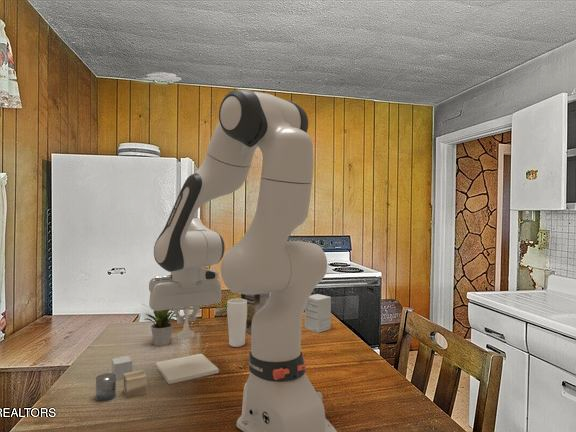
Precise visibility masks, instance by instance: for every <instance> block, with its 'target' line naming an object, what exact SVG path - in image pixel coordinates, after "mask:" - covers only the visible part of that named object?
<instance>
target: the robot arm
mask: <svg viewBox="0 0 576 432" xmlns="http://www.w3.org/2000/svg"><path fill="white" fill-rule="evenodd" d="M218 119H219V121H218V122H217V124H216V126H215V128H214V131H213V133H212V136H211V138H210V142H209V143H208V148H207V149H206V150H207V151H206V155H205V157H204V159H203V161H202V163H201V164H200V166H199V167H198V168H197V169H196V170H195V172H194V173H192V174H190V175H189V176H188V177H187V178H186V180H185V181H184V183H183V185H182V187H181V189H180V190H179V193H178V195H177V198H176V201H175V203H174V204H173V207H172V210H171V212H170V214H169V217H168V219H167V222H166V223H165V226H164V227H163V229H162V230H161V232H160V234H159V236H158V237H157V239H156V241H155V243H154V247H153V257H154V260H155V262H156V263H157V264H158V266H160V268H161V269H163V270H165V271H166V272H168V273H170V274H169V275H167V274H166V275H156V276H154V278H152V279H150V281H149V282H148V289H149V292H150V293H149V298H148V299H149V302H148V306H149V309H150V310H151V311H153V312H154V311H160V310H167V309H170V310H172V309H173V311H172V312H173V313H175V314H174V316H175V315H176V316H177V318H176V323H177V324H184V319H185V318H184V317H183V315H180V311H181V308H182V309H183V308H184V307H189V308H190V307H192V308H193V310H192V312H191V314H190V313H188V315H190V317H189V318H188V322H196V320H197V314H198V313H199V310H200V309H201V308H200V306H206V305H211V304H219V303H220V302H221V300H222V285H221V283H220V280H219V278H220V277H219V272H218V271H216V270H214V269H211V268H208V267H209V266H213V265H216V264H219V263H220V262H221V265H220V273H221V277H222V281H223V283H224V285H225V286H226V287H227V289H228V290H229V291H230V292H231V293H233V294H237V295H238V294H249V295H257V294H264V293H269V299H268V301H267V302H266V304H265V305H264V306H263V307H262V308H261V309H259V310H258V311H257V312H256V313H255V315H254V317H253V319H252V325H251V333H250V334H251V335H250V336H251V338H250V340H251V342H250V343H251V345H250V346H251V348H250V349H251V350H250V352H249V355H248V356H249V357H248V370H249V372H250V373H249V375H248V378H247V380H246V382H245V383H244V386H243V393H242V394H243V395H242V406H241V408H242V409H241V415H240V416H239V417H238V418H237V420H236V424H235V425H236V427H237V428H238V429H239V430H241V431H242V432H338V430H337V429H336V428H335V427H334V425H332V423H330V421H329V420H328V419H327V418H326V411H325V406H324V402H323V400H324V398H323V397H324V396H323V393H322V392H321V391H316V389H315V387H314V386H313V384H312V381H311V380H310V379H309V378H308V375H307V373H306V371H307V370H308V367H307V366H308V363H305V358H304V355H303V352H302V347H301V345H302V344H301V343H302V341H301V340H302V327H303V326H302V324H303V317H304V314H305V307H306V304H307V301H308V299H309V297H310V295H312V293H313V292H314V289H315V288H316V287H317V285H318V284H319V283H320V282H321V281H322V280H323V279H324V277H325V276H326V273H327V269H328V260H327V259H328V258H327V255H326V253H325V251H324V250H323V248H322V247H321V246H320V245H318V244H316V243H313V242H309V241H304V240H303V241H302V240H289V241H287V240H288V239H289V238H290V236H291V234H292V233H293V232H294V230H296V229H297V228H298V227H299V226H301V225H302V224H304V223H305V222H306V221H307V220H306V219H307V218H308V215H309V210H310V209H309V208H310V201H311V192H312V186H313V185H312V184H313V178H314V177H313V176H314V175H313V174H314V148H313V147H314V145H313V140H312V137H311V136H310V135H309V134H308V129H309V117H308V115H307V113H306V111H305V109H303V107H302V106H300V105H299V104H297V103H295V102H294V101H290V100H285V99H283V98H281V97H278V96H275V95H273V94H272V93H271V94H270V93H266V92H260V91H253V90H250V89H235V90H232V91H229V92H228V93H227V94H226V95H225V96H224V97H223V99H222V101H221V103H220V106H219V111H218ZM257 148H258V149H260V152H261V153H262V166H261V173H260V182H259V191H258V192H259V193H258V196H257V197H258V199H257V205H256V210H255V213H254V216H253V219H252V221H251V223H250V225H249V227H248V229H247V230H246V232H245V233H244V235H243V236H242V237H241V238H240V240H239V241H237V243H235V245H233V246H232V247H230V248H229V249H228V250H227V251H226V253H225V250H226V249H225V241H224V238H223V237H222V235H221V234H220V233H219V232H218V231H214V230H212V229H210V228H208V227H207V226H206V225H204V224H203V222H202V219H200V218H199V217H196V213H197V211H198V210H199V209H200V208H201V207H202V206H203V205H205V204H206V203H208V202H210V201H212V200H215V199H217V198H220V197H224V196H227V195H230V194H233V193H234V192H236V191H238V190H239V189H240V188H241V187H242V186H243V185H244V183H245V181H246V180H247V178H248V174H249V171H250V168H251V165H252V161H253V158H254V155H255V151H256V149H257ZM221 260H222V261H221Z"/></svg>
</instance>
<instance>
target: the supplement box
mask: <svg viewBox="0 0 576 432" xmlns="http://www.w3.org/2000/svg"><path fill="white" fill-rule="evenodd" d="M331 328H332V297H331V296H328V295H324V294H320V293H316V294H315V293H314V294H311V295H310V297H309V299H308V301H307V304H306V307H305V310H304V329H305V330H308V331H311V332H314V333H317V334H319V333H323V332H325V331H328V330H331Z"/></svg>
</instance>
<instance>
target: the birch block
mask: <svg viewBox="0 0 576 432" xmlns="http://www.w3.org/2000/svg"><path fill="white" fill-rule="evenodd" d="M123 392H124V395H125V397H126V399H129V398H134V397H138V396H143V395H146V394H147V375H146V374H145V371H144V370H143V369H140V370H135V371H132V372H129V373H124V379H123Z"/></svg>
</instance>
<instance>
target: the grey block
mask: <svg viewBox="0 0 576 432" xmlns="http://www.w3.org/2000/svg"><path fill="white" fill-rule="evenodd" d="M129 372H133V360H132V358H131V356H130V355H126V356H120V357H115V358H111V373H113V374H115V375H116V381H120V380H124V373H129Z"/></svg>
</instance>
